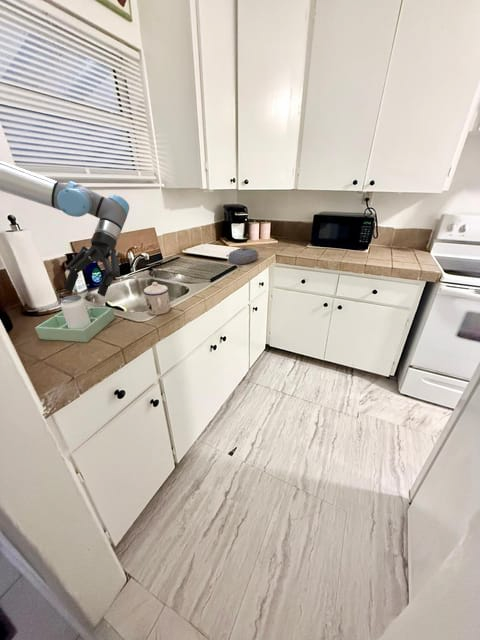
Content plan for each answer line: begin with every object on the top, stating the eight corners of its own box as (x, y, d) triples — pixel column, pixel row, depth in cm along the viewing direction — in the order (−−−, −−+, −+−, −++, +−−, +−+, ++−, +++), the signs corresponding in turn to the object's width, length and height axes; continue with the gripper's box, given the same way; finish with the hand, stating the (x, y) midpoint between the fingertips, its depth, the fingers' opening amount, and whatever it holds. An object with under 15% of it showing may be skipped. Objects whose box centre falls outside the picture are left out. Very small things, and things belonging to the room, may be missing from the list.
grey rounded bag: (243, 266, 157) (263, 259, 171) (243, 252, 153) (263, 247, 167) (225, 262, 166) (245, 256, 179) (225, 248, 162) (245, 243, 176)
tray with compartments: (39, 339, 85) (34, 327, 83) (73, 316, 99) (70, 305, 97) (87, 342, 83) (83, 330, 81) (114, 318, 98) (112, 307, 96)
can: (68, 331, 87) (56, 298, 81) (89, 325, 91) (79, 293, 85) (74, 339, 83) (61, 304, 77) (95, 331, 87) (85, 298, 81)
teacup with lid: (146, 307, 106) (141, 280, 100) (168, 304, 109) (165, 277, 103) (149, 320, 96) (144, 291, 90) (174, 316, 99) (170, 287, 94)
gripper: (142, 245, 91) (123, 301, 86) (85, 241, 98) (63, 293, 92) (129, 232, 84) (107, 291, 79) (69, 228, 91) (44, 283, 85)
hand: (83, 292), depth 85 cm, fingers open, 13 cm apart
